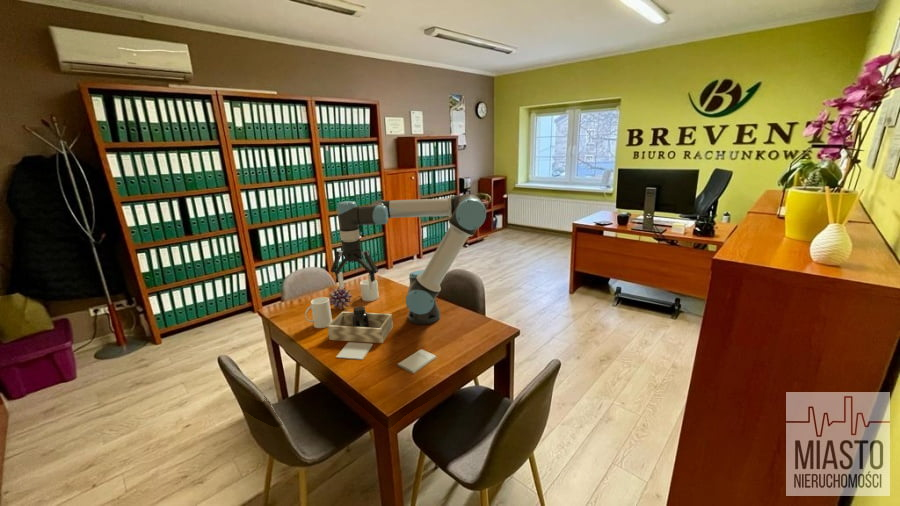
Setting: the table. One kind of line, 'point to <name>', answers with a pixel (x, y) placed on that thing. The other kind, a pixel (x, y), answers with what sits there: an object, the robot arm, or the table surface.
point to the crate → (360, 328)
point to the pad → (354, 350)
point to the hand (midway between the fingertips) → (356, 287)
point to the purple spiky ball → (340, 297)
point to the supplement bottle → (360, 317)
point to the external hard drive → (417, 361)
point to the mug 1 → (320, 312)
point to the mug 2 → (366, 292)
